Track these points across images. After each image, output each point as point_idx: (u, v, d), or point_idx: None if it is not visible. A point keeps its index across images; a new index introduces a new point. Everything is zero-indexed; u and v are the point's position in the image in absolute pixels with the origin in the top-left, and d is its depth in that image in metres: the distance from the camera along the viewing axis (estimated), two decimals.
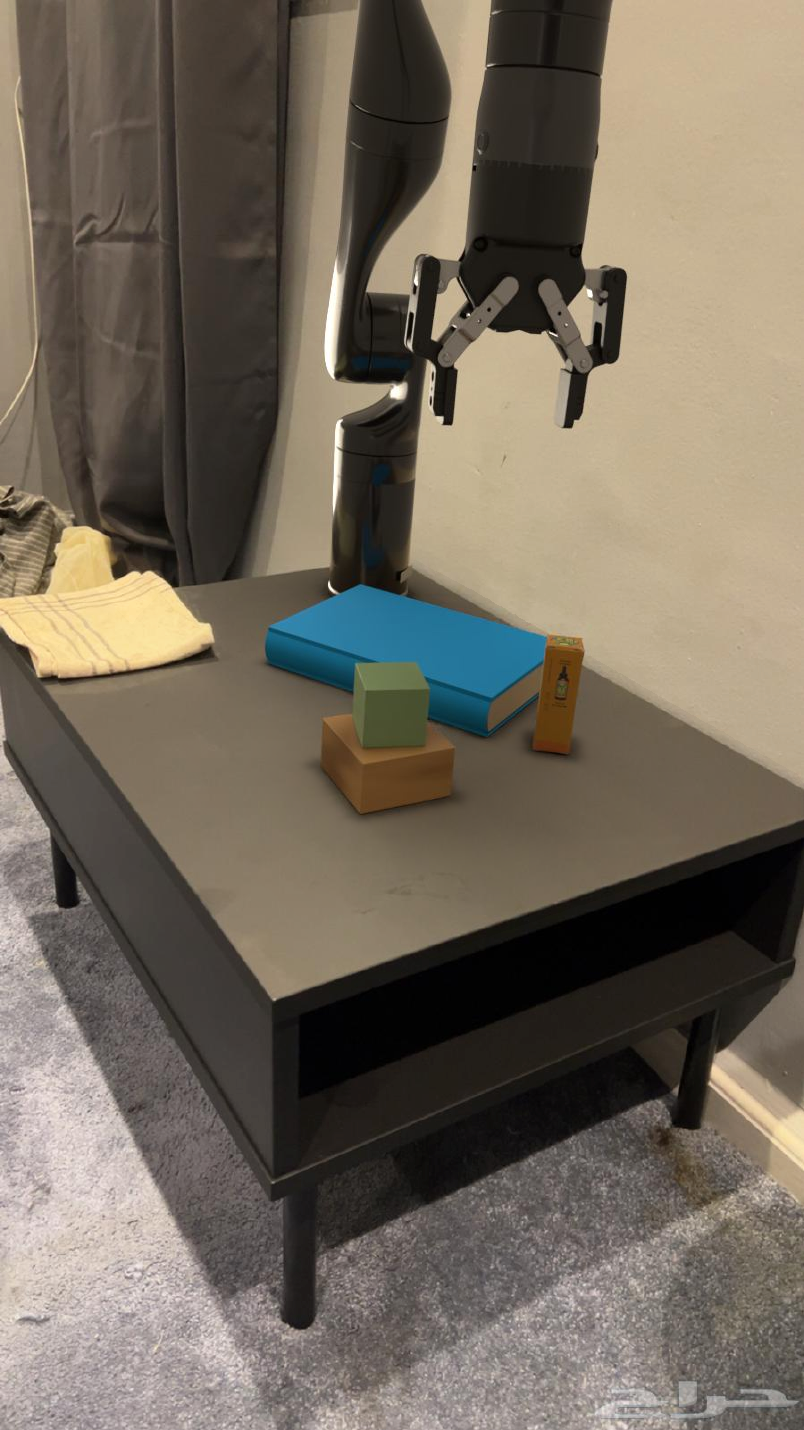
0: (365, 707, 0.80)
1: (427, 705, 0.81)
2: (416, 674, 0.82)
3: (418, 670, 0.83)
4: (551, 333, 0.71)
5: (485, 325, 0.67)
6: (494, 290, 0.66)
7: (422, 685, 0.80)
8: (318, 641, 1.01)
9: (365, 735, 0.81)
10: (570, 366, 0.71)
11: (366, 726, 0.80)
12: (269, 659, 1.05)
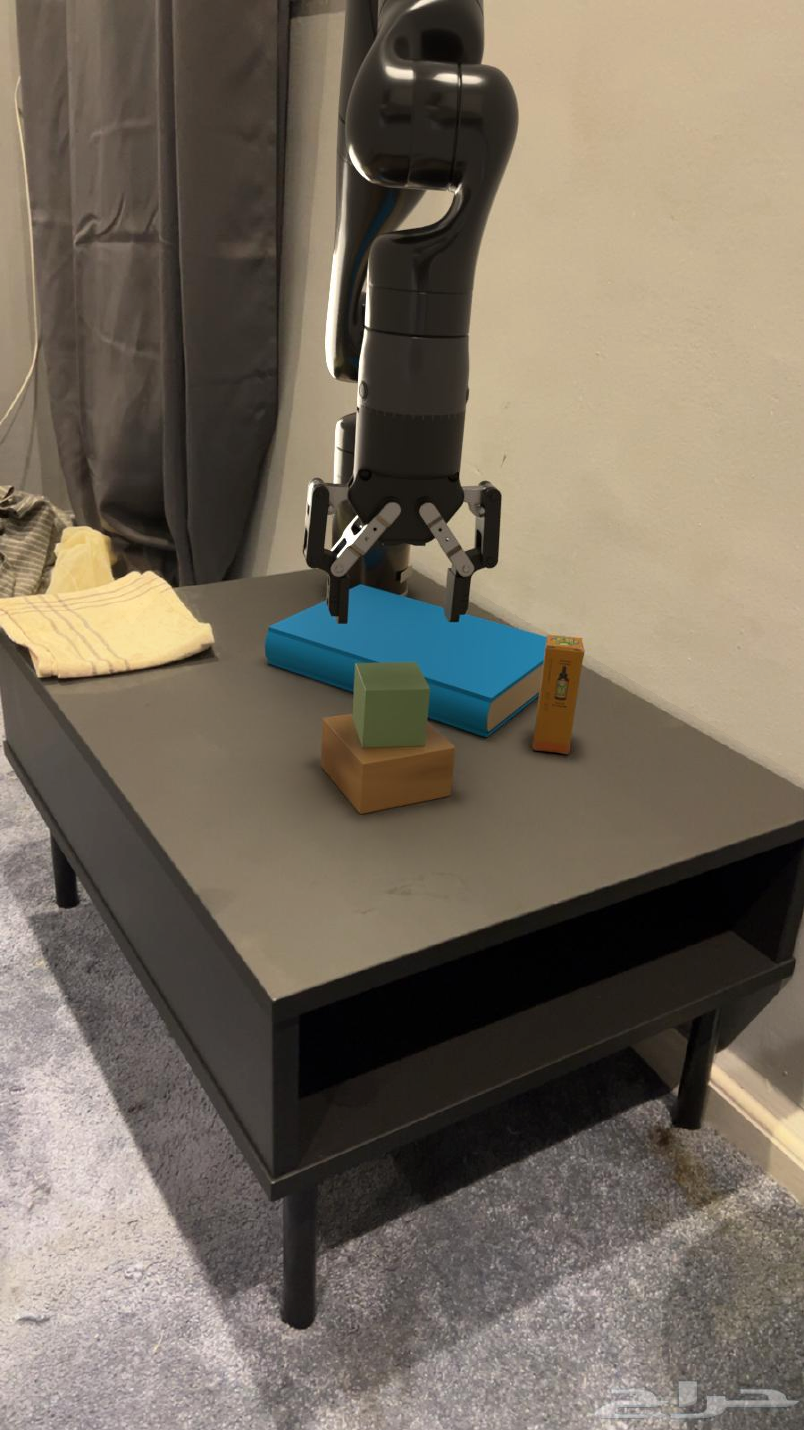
0: (365, 707, 0.80)
1: (427, 705, 0.81)
2: (416, 674, 0.82)
3: (418, 670, 0.83)
4: (437, 540, 0.78)
5: (372, 542, 0.75)
6: (378, 513, 0.74)
7: (422, 685, 0.80)
8: (318, 641, 1.01)
9: (365, 735, 0.81)
10: (454, 569, 0.78)
11: (366, 726, 0.80)
12: (269, 659, 1.05)
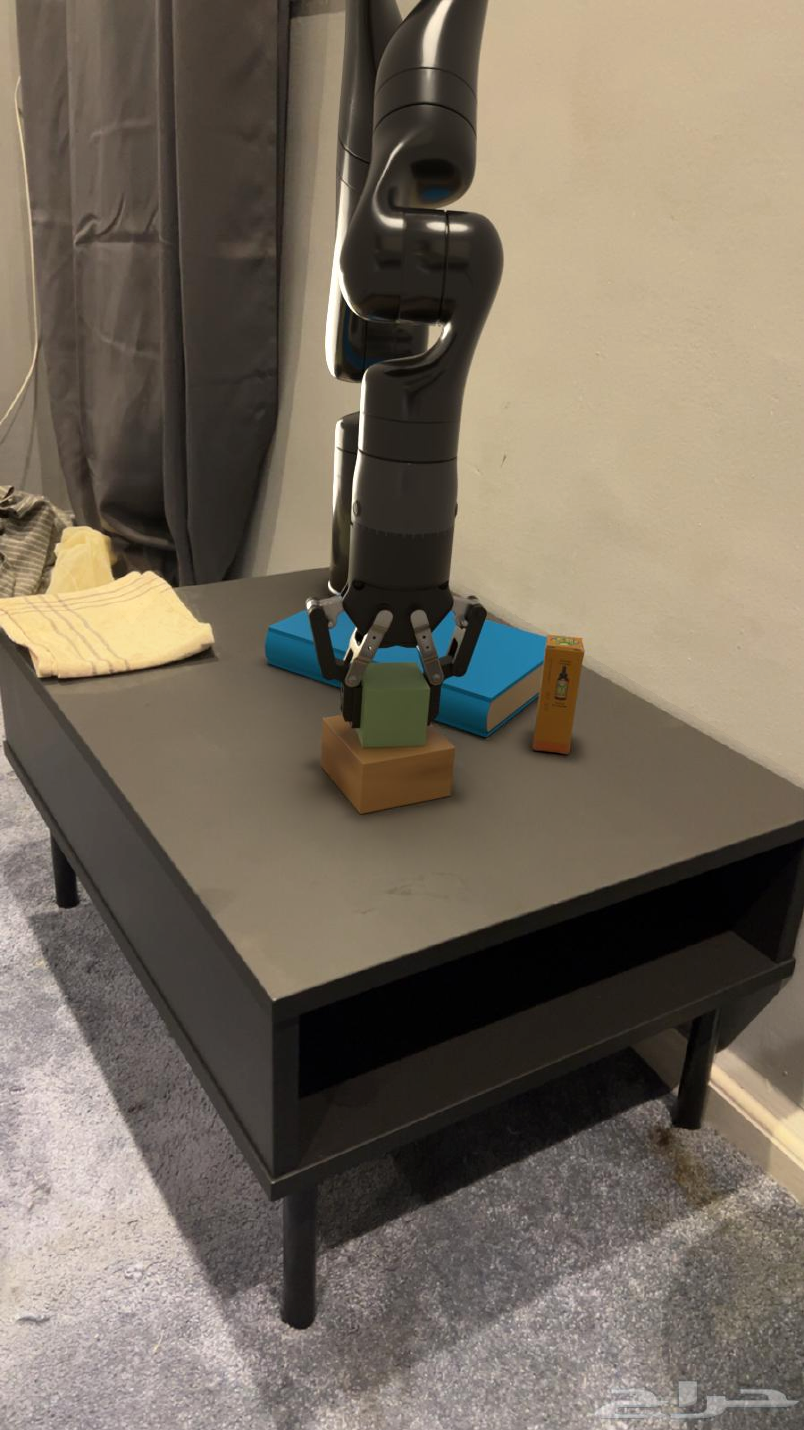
0: (365, 707, 0.80)
1: (427, 705, 0.81)
2: (416, 674, 0.82)
3: (418, 670, 0.83)
4: None
5: (365, 646, 0.78)
6: (373, 624, 0.77)
7: (423, 685, 0.80)
8: None
9: (365, 735, 0.81)
10: (425, 677, 0.82)
11: (366, 726, 0.80)
12: (269, 659, 1.05)
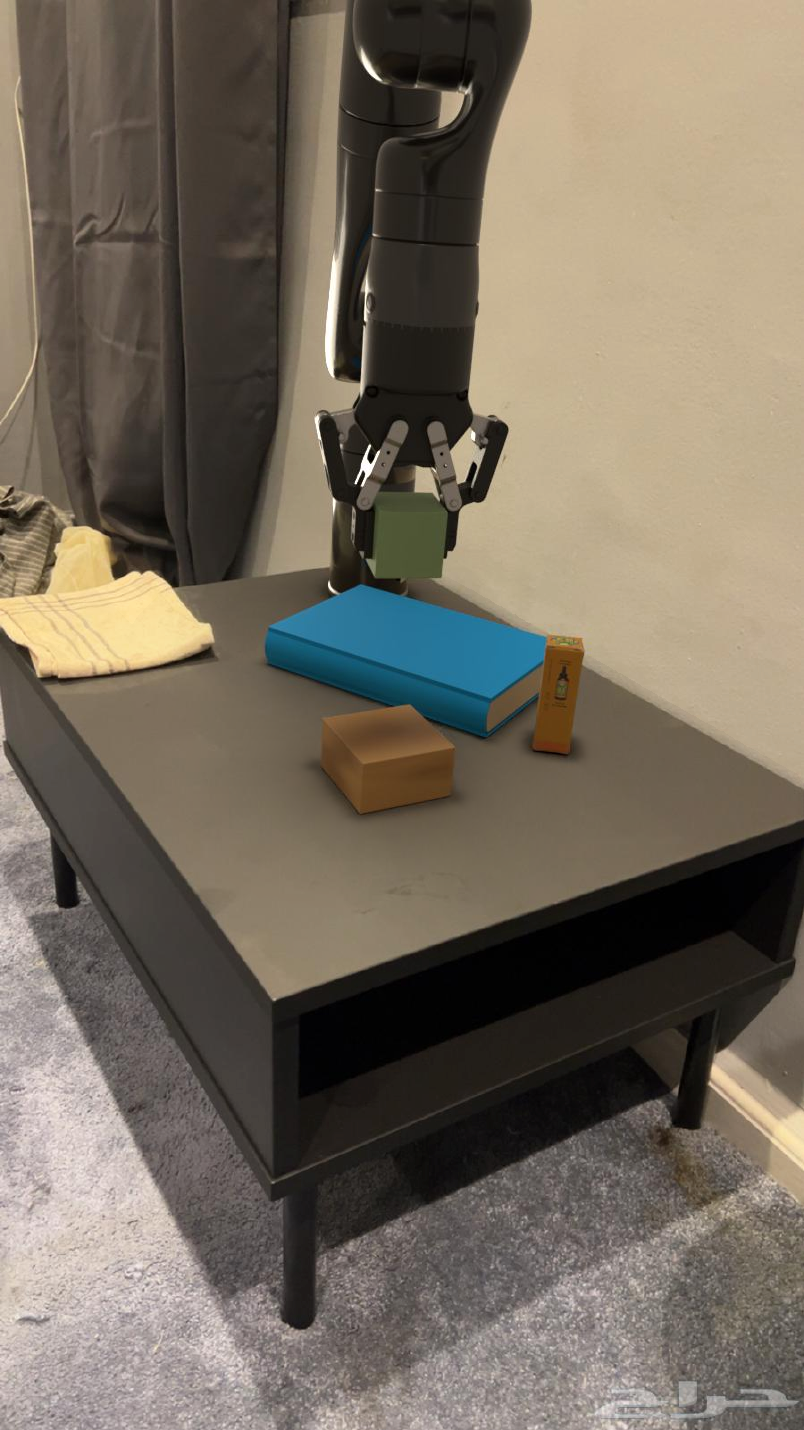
0: (378, 531, 0.75)
1: (444, 531, 0.75)
2: (433, 501, 0.77)
3: (434, 498, 0.78)
4: (432, 467, 0.76)
5: (379, 462, 0.73)
6: (387, 436, 0.72)
7: (439, 509, 0.75)
8: (318, 641, 1.01)
9: (378, 564, 0.76)
10: (442, 504, 0.77)
11: (379, 553, 0.75)
12: (269, 659, 1.05)
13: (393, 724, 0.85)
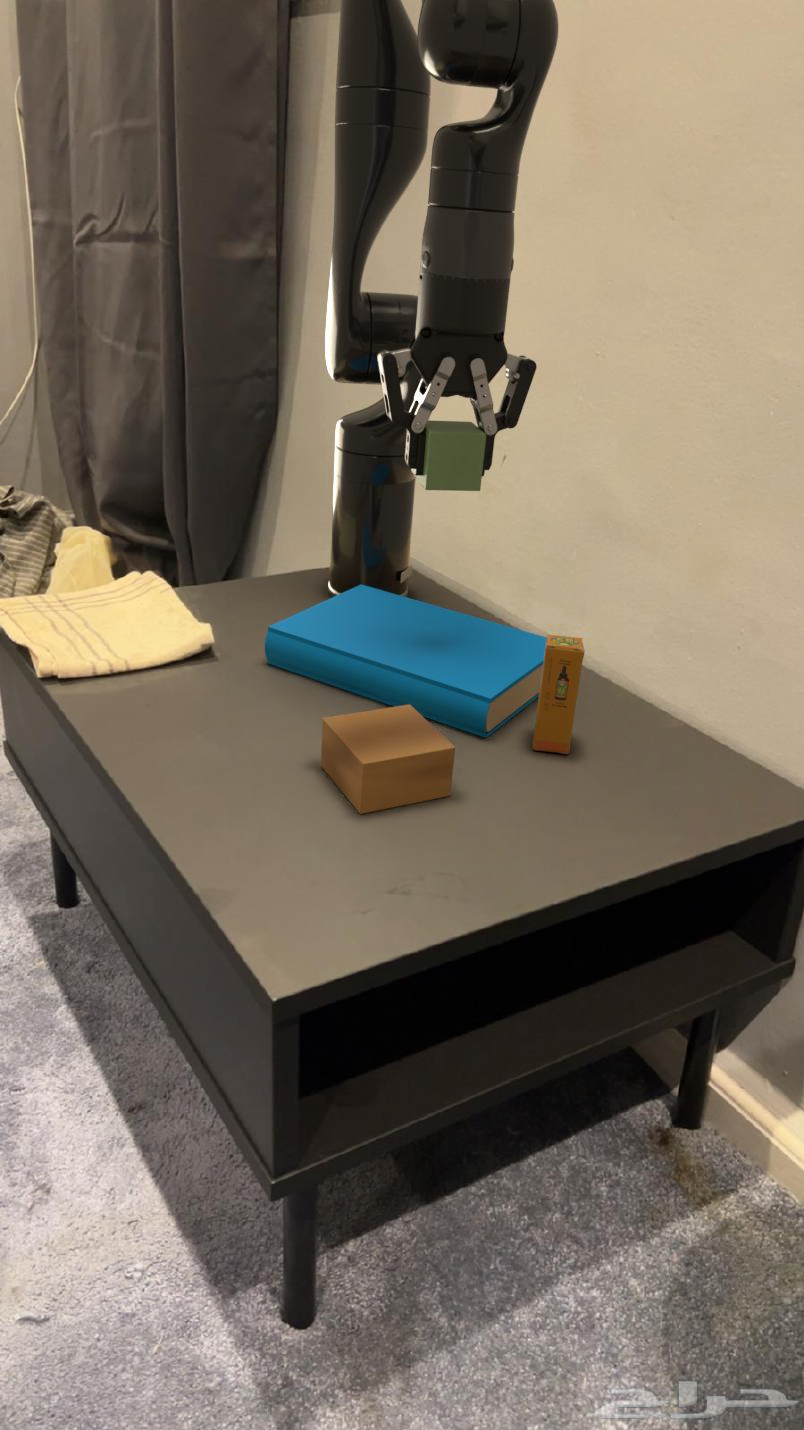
0: (429, 449, 0.91)
1: (483, 450, 0.91)
2: (473, 427, 0.93)
3: (474, 425, 0.94)
4: (472, 399, 0.92)
5: (430, 392, 0.89)
6: (438, 370, 0.88)
7: (479, 432, 0.91)
8: (318, 641, 1.01)
9: (429, 477, 0.92)
10: (480, 429, 0.93)
11: (429, 468, 0.91)
12: (269, 659, 1.05)
13: (393, 724, 0.85)
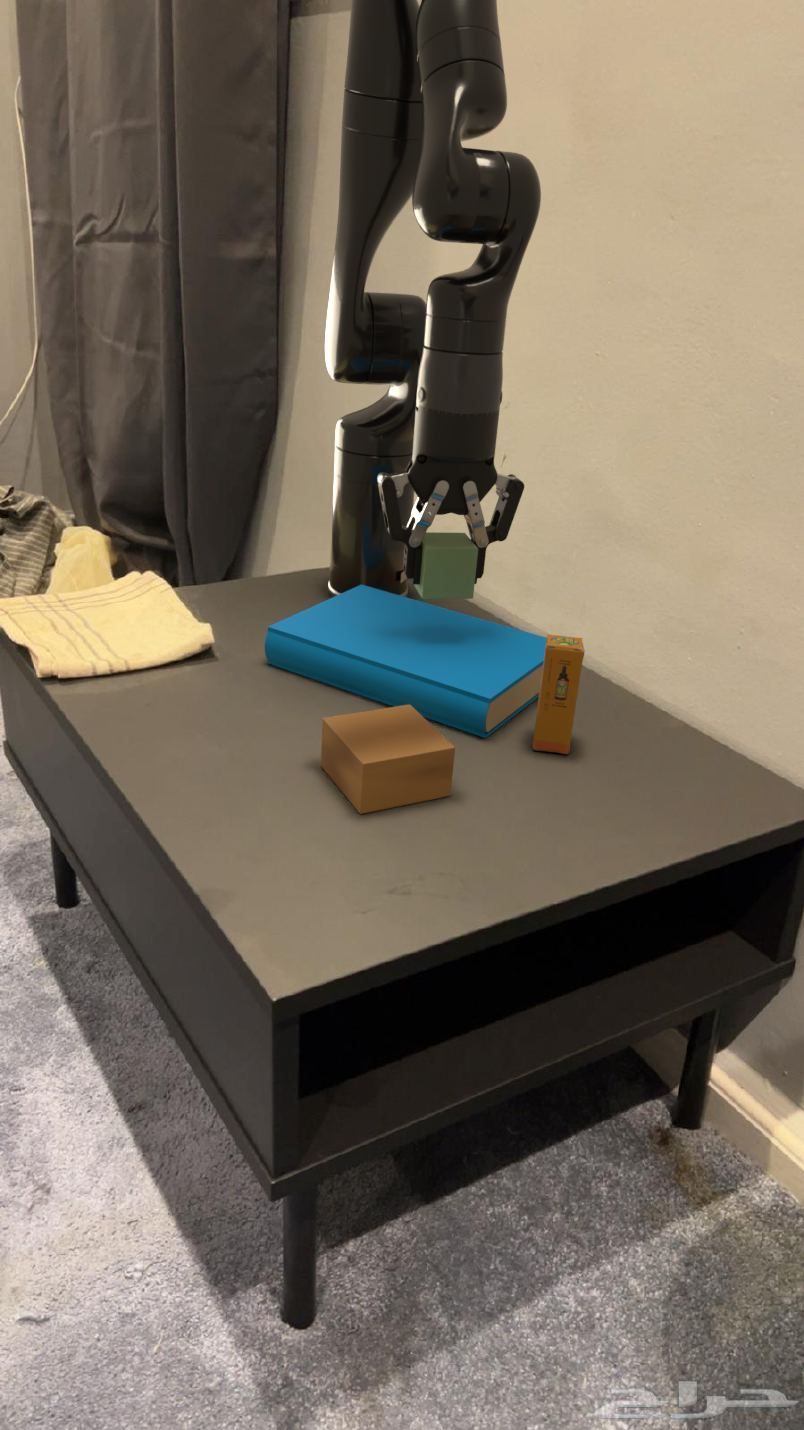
0: (425, 563, 0.98)
1: (475, 563, 0.99)
2: (466, 540, 1.00)
3: (467, 537, 1.01)
4: (465, 514, 1.00)
5: (426, 511, 0.96)
6: (433, 492, 0.95)
7: (472, 546, 0.99)
8: (317, 641, 1.01)
9: (425, 588, 0.99)
10: (473, 542, 1.00)
11: (426, 580, 0.98)
12: (269, 659, 1.05)
13: (393, 724, 0.85)
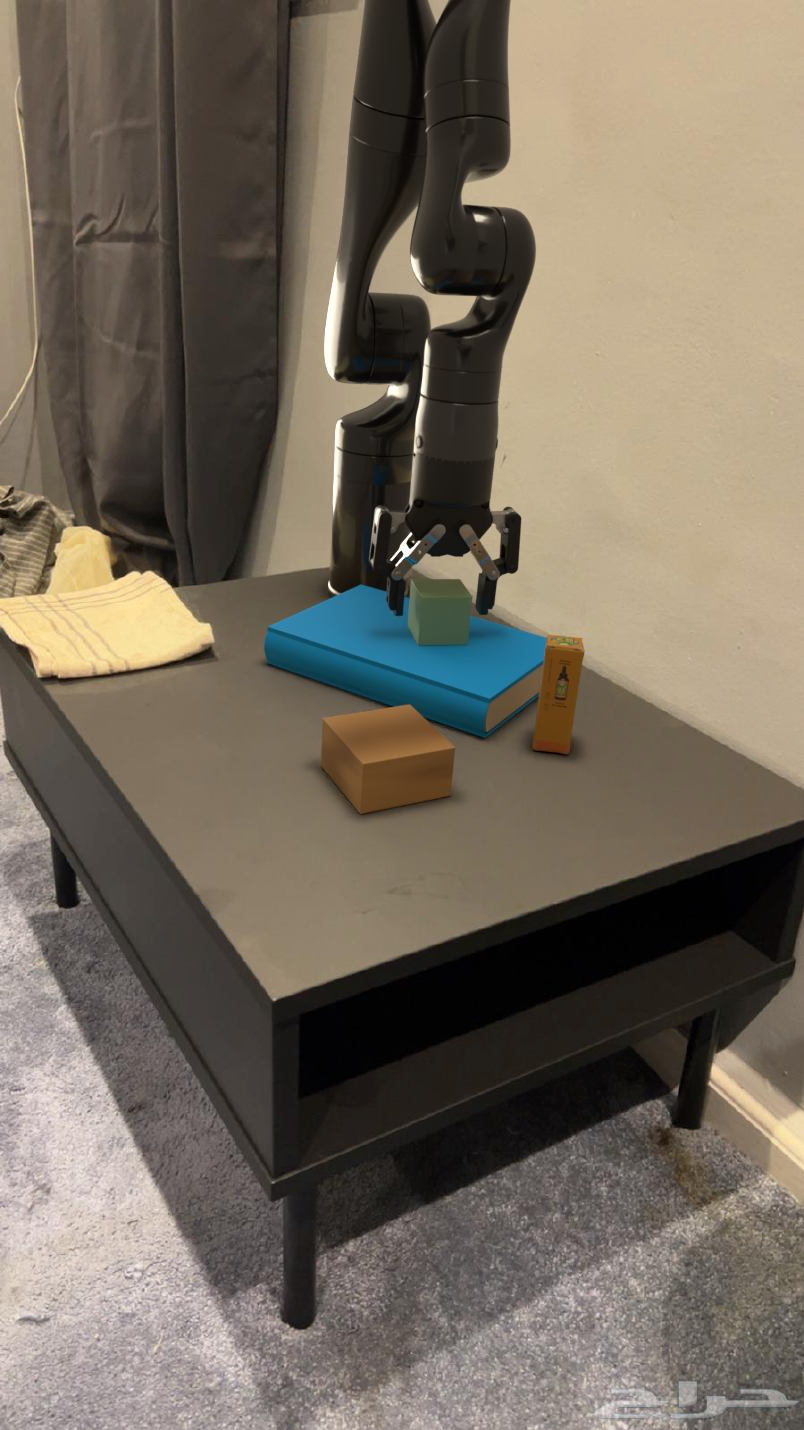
0: (421, 611, 1.00)
1: (470, 610, 1.01)
2: (460, 587, 1.02)
3: (462, 584, 1.03)
4: (471, 552, 1.02)
5: (423, 554, 0.98)
6: (429, 533, 0.97)
7: (466, 594, 1.01)
8: (317, 641, 1.01)
9: (421, 635, 1.01)
10: (484, 574, 1.02)
11: (421, 627, 1.01)
12: (268, 659, 1.05)
13: (393, 724, 0.85)
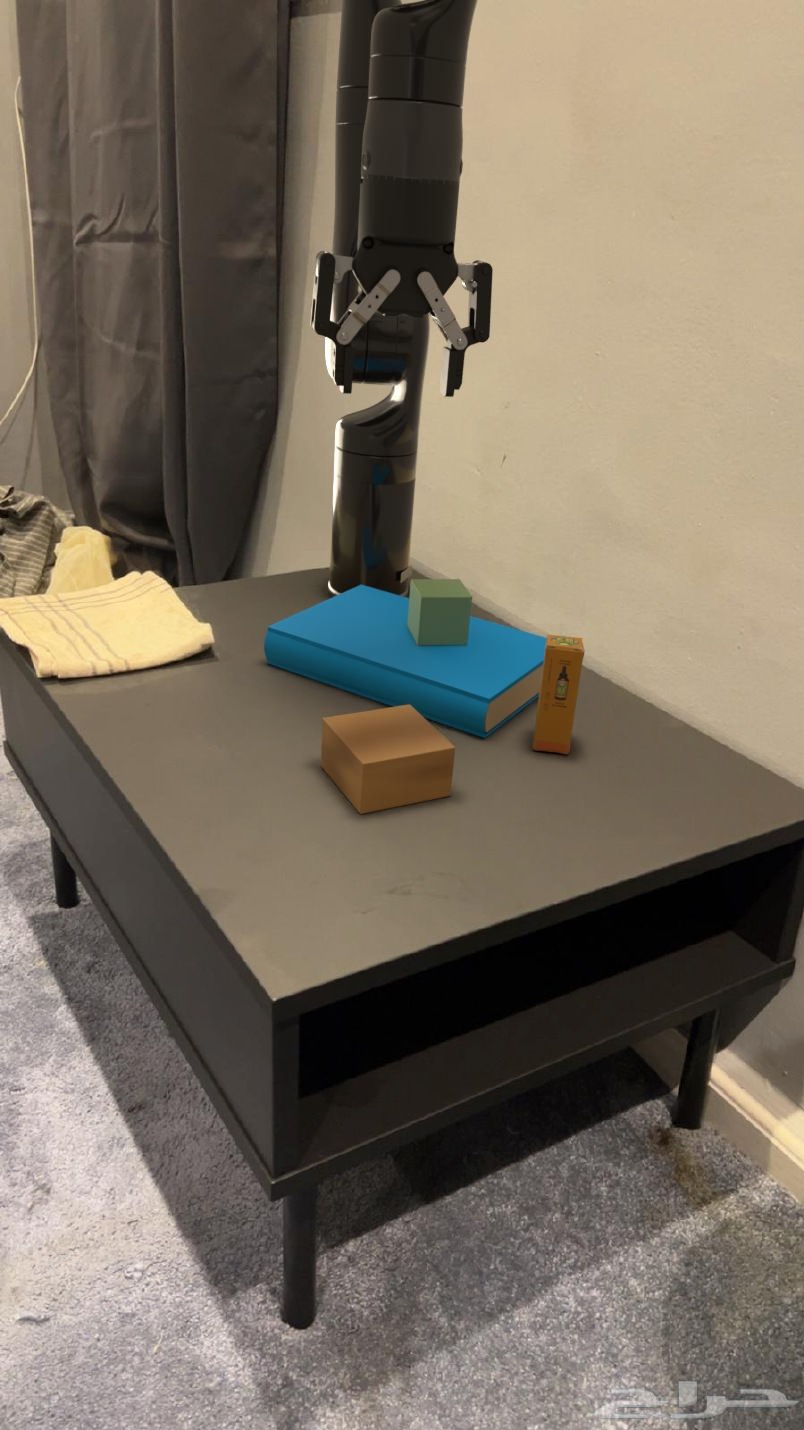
0: (420, 611, 1.00)
1: (470, 610, 1.01)
2: (460, 587, 1.02)
3: (461, 584, 1.03)
4: (433, 317, 0.85)
5: (374, 309, 0.82)
6: (380, 281, 0.81)
7: (466, 594, 1.01)
8: (317, 641, 1.01)
9: (420, 635, 1.01)
10: (449, 344, 0.86)
11: (421, 627, 1.01)
12: (268, 659, 1.05)
13: (393, 724, 0.85)
